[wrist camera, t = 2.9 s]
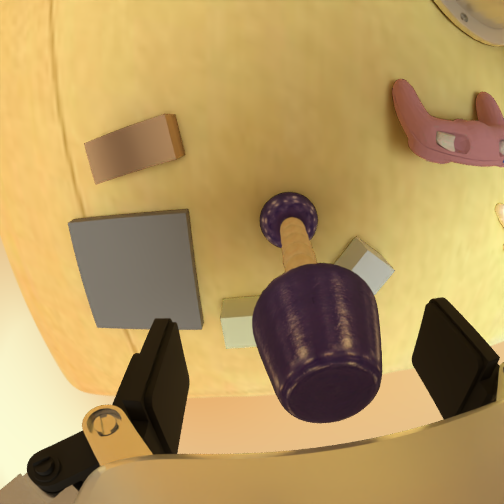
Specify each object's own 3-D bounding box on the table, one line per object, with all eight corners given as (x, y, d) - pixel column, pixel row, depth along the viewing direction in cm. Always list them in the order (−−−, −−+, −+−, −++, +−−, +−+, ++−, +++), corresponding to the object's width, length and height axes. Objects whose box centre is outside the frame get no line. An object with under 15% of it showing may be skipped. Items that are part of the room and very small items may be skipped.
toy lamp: (252, 247, 24) (253, 446, 9) (251, 186, 22) (250, 338, 7) (315, 246, 24) (394, 431, 9) (318, 186, 22) (439, 323, 7)
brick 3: (355, 235, 24) (367, 249, 21) (380, 254, 25) (395, 270, 22) (309, 292, 26) (315, 312, 23) (336, 308, 27) (344, 328, 24)
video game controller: (381, 126, 22) (419, 181, 17) (387, 73, 18) (436, 116, 14) (475, 132, 21) (518, 182, 17) (486, 88, 18) (538, 133, 13)
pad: (188, 209, 23) (185, 212, 22) (203, 322, 27) (202, 329, 26) (73, 219, 23) (67, 223, 22) (101, 321, 27) (97, 327, 26)
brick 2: (296, 291, 26) (301, 311, 23) (297, 320, 27) (301, 342, 24) (223, 297, 26) (220, 318, 23) (228, 326, 27) (225, 348, 24)
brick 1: (175, 114, 20) (164, 114, 18) (185, 154, 22) (176, 159, 19) (102, 139, 21) (84, 143, 18) (112, 176, 22) (95, 184, 19)
